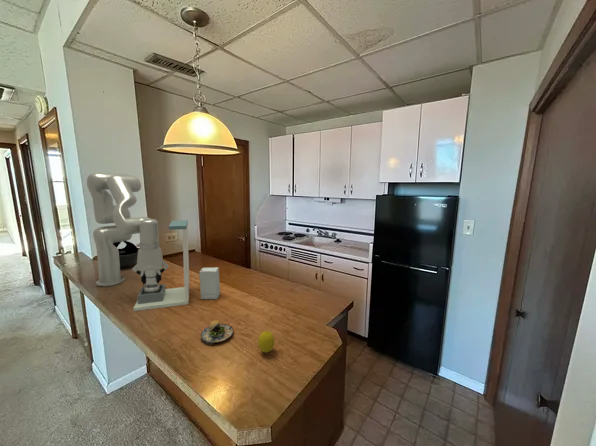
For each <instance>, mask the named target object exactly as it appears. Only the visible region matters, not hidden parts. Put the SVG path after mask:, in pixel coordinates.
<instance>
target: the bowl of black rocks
mask: <svg viewBox="0 0 596 446" xmlns="http://www.w3.org/2000/svg"><path fill="white" fill-rule="evenodd" d="M121 243H124V244H125V246H124V247H122V248H118V247H119V245H121ZM113 245H114V246H115V247H117V249H118V250H119V260H120V268H127V267H130V266H132V265H134V264H135V263H137V256H138V250H139V249H140V248H139V247H137V246H136V245H135V244H134V243H133V242H131V241H129V240H127V241H122V242H116V243H113Z"/></svg>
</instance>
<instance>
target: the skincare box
mask: <svg viewBox="0 0 596 446" xmlns="http://www.w3.org/2000/svg"><path fill="white" fill-rule="evenodd" d="M219 268H220V267H202V268H201V269H200V271H198V273H199V274H198V275H199V288H200V300H218V298H219V297H220V295H221V289H220V288H221V286H220V285H221V283H220V271H219V270H220V269H219Z"/></svg>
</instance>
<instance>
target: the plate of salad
mask: <svg viewBox="0 0 596 446" xmlns="http://www.w3.org/2000/svg"><path fill="white" fill-rule="evenodd" d="M211 319H212V321H211V322H210V324H209V326H208V327H205V328H204V329H203V330H202V331H201V333H200V342H201V343H202V344H203V345H205V346H209V347H212V345H213V344H216V343H217V344H218V343H220V342H223V341H225V340H227V339H229V338H230V337H232V335H233V332H234V327H232V326H230V325H229V324H225V323H224V324H223V323H221V321H220V320H218V319H216V320H214V319H213V318H211Z"/></svg>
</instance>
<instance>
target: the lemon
mask: <svg viewBox="0 0 596 446" xmlns="http://www.w3.org/2000/svg"><path fill="white" fill-rule="evenodd" d="M257 340H258V342H257V344H258V348H259V350H260V351H261V352H263V353H265V354H266V353H270V352H271V351H272V350H273V349H274V347H275V336H274V334H273V333H272V332H271V331H269V330H264V331H262V332H261V333H260V335H259V337H258V339H257Z"/></svg>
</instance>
